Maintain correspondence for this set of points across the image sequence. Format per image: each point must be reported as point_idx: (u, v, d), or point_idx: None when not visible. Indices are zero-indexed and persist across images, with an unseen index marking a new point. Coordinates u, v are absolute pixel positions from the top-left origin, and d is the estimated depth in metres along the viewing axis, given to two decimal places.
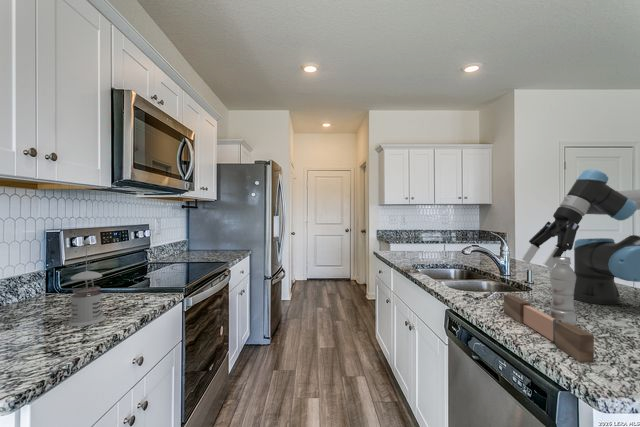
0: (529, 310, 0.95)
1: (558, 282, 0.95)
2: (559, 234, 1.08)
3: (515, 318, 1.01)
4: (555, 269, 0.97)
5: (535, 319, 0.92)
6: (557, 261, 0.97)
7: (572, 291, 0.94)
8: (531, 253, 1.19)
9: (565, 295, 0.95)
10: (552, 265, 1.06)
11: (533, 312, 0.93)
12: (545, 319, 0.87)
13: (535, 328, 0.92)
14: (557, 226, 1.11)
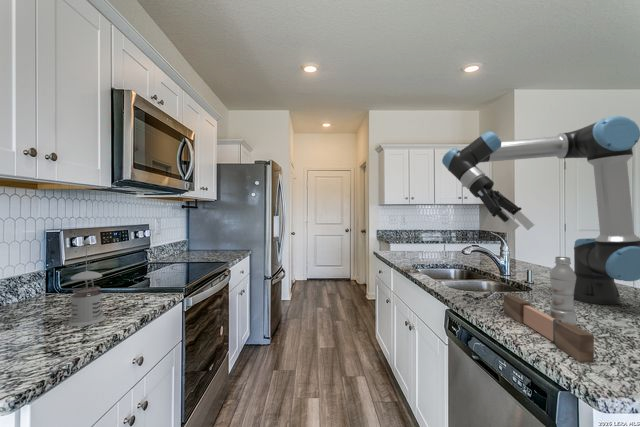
0: (529, 310, 0.95)
1: (558, 282, 0.95)
2: None
3: (515, 318, 1.01)
4: (555, 269, 0.97)
5: (535, 319, 0.92)
6: (557, 261, 0.97)
7: (572, 291, 0.94)
8: (523, 219, 1.11)
9: (565, 295, 0.95)
10: (515, 224, 1.00)
11: (533, 312, 0.93)
12: (545, 319, 0.87)
13: (535, 328, 0.92)
14: None
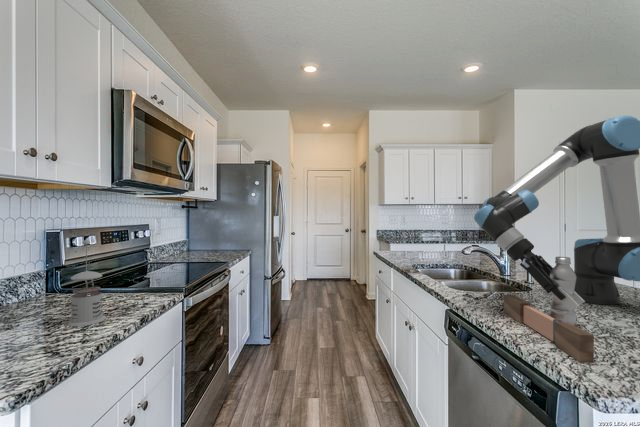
0: (529, 310, 0.95)
1: (558, 282, 0.95)
2: None
3: (515, 318, 1.01)
4: (555, 268, 0.97)
5: (535, 319, 0.92)
6: (557, 261, 0.97)
7: (572, 291, 0.94)
8: None
9: None
10: (574, 304, 0.92)
11: (533, 312, 0.93)
12: (545, 319, 0.87)
13: (535, 328, 0.92)
14: None
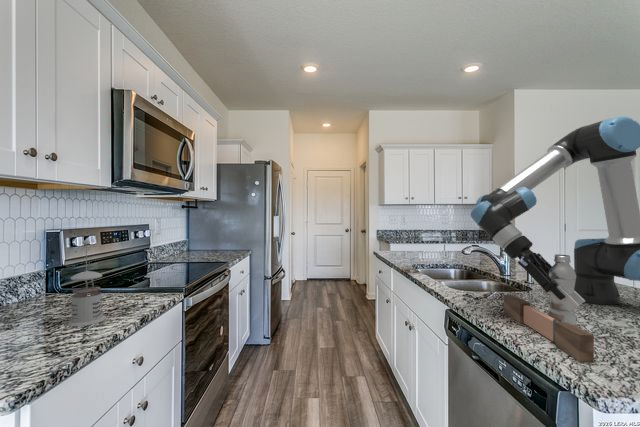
0: (529, 310, 0.95)
1: (557, 281, 0.91)
2: None
3: (515, 318, 1.01)
4: (554, 267, 0.93)
5: (535, 319, 0.92)
6: (556, 259, 0.93)
7: (572, 290, 0.91)
8: None
9: None
10: (574, 304, 0.88)
11: (533, 312, 0.93)
12: (545, 319, 0.87)
13: (535, 328, 0.92)
14: None
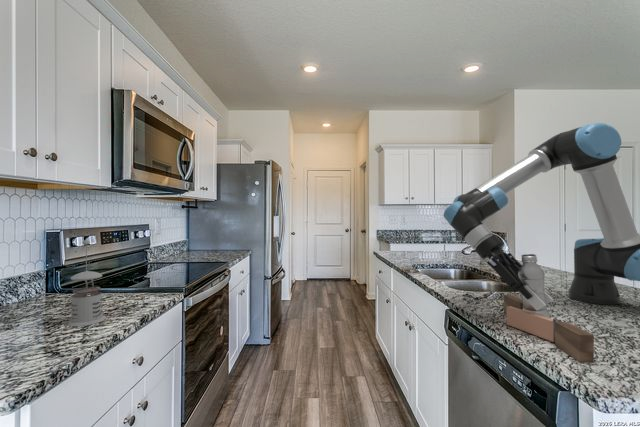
0: (515, 311, 0.94)
1: (528, 282, 0.91)
2: None
3: None
4: (523, 268, 0.93)
5: (525, 320, 0.91)
6: (524, 260, 0.93)
7: (542, 289, 0.91)
8: None
9: (536, 294, 0.91)
10: (540, 303, 0.89)
11: (522, 313, 0.92)
12: (542, 319, 0.87)
13: (525, 329, 0.91)
14: None
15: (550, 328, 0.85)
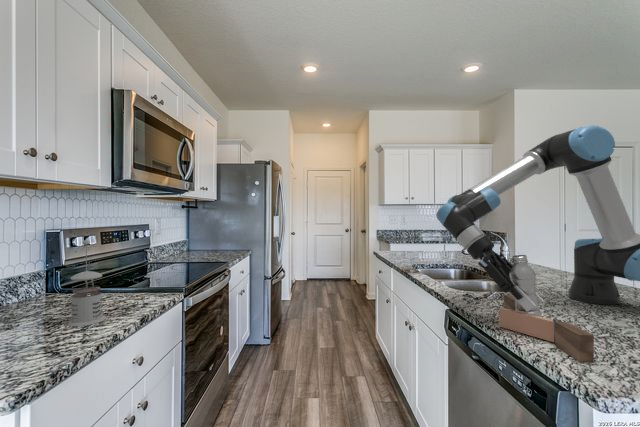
0: (510, 313, 0.93)
1: (521, 282, 0.91)
2: None
3: None
4: (515, 268, 0.93)
5: (521, 322, 0.90)
6: (515, 260, 0.93)
7: (534, 289, 0.91)
8: None
9: (529, 294, 0.91)
10: (530, 304, 0.89)
11: (517, 314, 0.91)
12: (541, 320, 0.86)
13: (521, 330, 0.90)
14: None
15: (550, 328, 0.84)
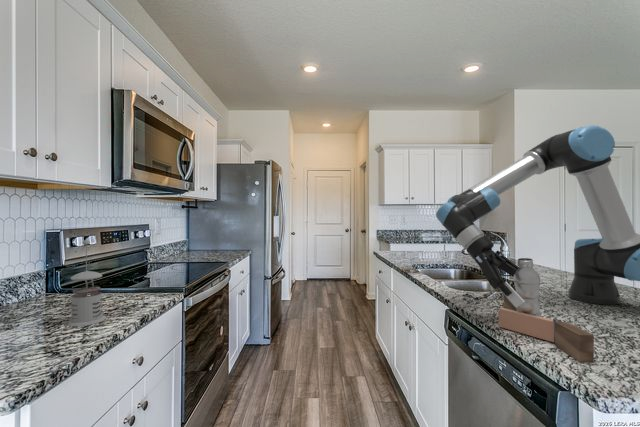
0: (510, 313, 0.93)
1: (525, 287, 0.90)
2: None
3: None
4: (520, 272, 0.91)
5: (521, 322, 0.90)
6: (521, 264, 0.91)
7: (538, 294, 0.90)
8: None
9: (532, 299, 0.90)
10: (519, 300, 0.88)
11: (517, 314, 0.91)
12: (541, 320, 0.86)
13: (521, 331, 0.90)
14: None
15: (550, 328, 0.84)
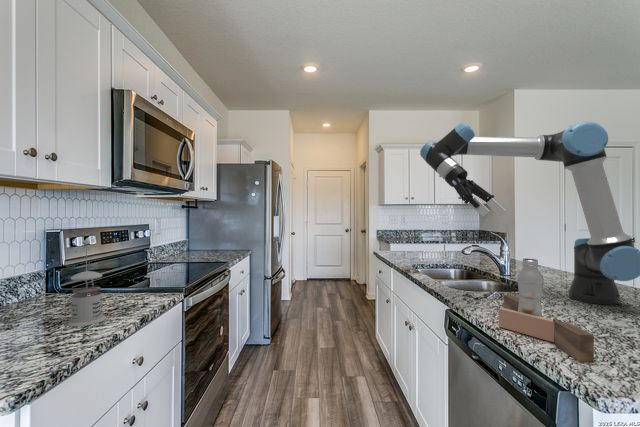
0: (510, 313, 0.93)
1: (528, 286, 0.91)
2: None
3: None
4: (524, 272, 0.92)
5: (521, 322, 0.90)
6: (526, 264, 0.92)
7: (540, 294, 0.91)
8: (495, 206, 1.17)
9: (535, 299, 0.91)
10: (485, 210, 1.06)
11: (517, 314, 0.91)
12: (541, 320, 0.86)
13: (521, 331, 0.90)
14: None
15: (550, 328, 0.84)
